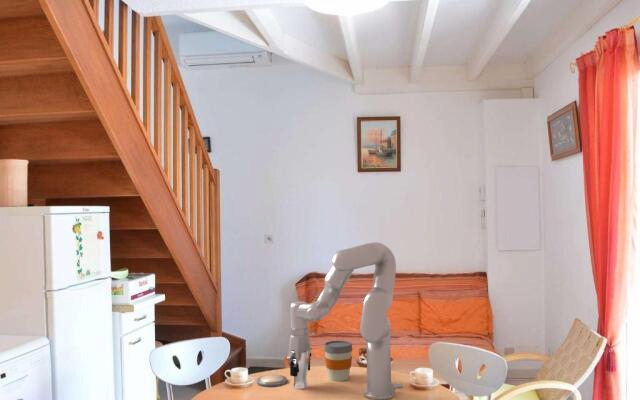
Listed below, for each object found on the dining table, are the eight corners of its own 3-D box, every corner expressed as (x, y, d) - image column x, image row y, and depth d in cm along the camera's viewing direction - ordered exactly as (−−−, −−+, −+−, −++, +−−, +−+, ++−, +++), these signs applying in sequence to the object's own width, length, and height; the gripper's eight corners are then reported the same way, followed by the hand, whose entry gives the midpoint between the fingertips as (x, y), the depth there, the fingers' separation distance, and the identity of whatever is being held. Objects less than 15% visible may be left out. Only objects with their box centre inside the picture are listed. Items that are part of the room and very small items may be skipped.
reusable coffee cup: (321, 381, 214) (320, 346, 215) (329, 373, 226) (328, 339, 227) (349, 383, 211) (348, 347, 212) (355, 374, 223) (355, 341, 224)
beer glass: (306, 390, 203) (306, 353, 204) (290, 389, 205) (289, 352, 205) (310, 384, 210) (309, 349, 211) (294, 384, 211) (294, 348, 212)
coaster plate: (283, 376, 223) (283, 372, 223) (290, 384, 211) (289, 381, 211) (254, 379, 219) (254, 375, 219) (259, 388, 207) (259, 384, 207)
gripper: (303, 327, 218) (304, 366, 217) (280, 334, 203) (281, 377, 202) (317, 328, 214) (318, 368, 213) (295, 336, 199) (296, 380, 198)
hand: (300, 373), depth 208 cm, fingers open, 9 cm apart
